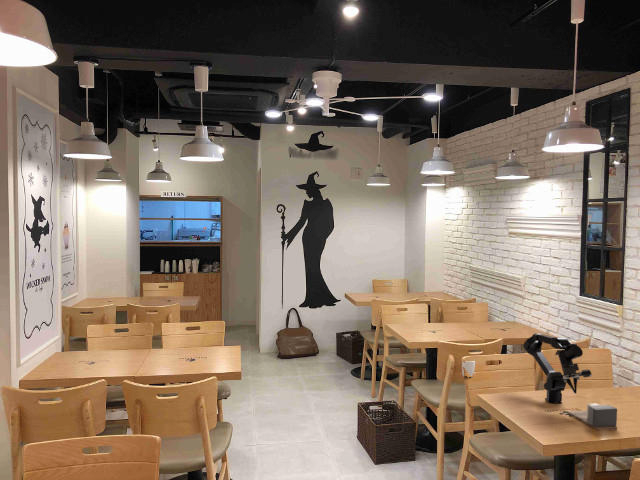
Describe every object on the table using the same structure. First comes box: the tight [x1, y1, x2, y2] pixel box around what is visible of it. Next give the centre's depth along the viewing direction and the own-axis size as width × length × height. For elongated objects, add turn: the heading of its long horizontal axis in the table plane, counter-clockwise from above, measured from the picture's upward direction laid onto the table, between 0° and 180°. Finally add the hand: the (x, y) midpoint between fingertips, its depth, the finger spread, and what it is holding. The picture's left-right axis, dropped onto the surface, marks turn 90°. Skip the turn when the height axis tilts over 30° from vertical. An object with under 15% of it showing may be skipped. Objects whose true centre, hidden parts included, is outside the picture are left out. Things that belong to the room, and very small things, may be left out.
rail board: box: [566, 410, 618, 431], centre depth 241 cm, size 20×10×1 cm, turn 12°
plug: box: [586, 402, 600, 419], centre depth 238 cm, size 6×5×7 cm
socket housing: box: [588, 404, 618, 427], centre depth 235 cm, size 5×11×8 cm, turn 102°
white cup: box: [461, 360, 476, 377], centre depth 310 cm, size 8×8×10 cm
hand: (575, 393), depth 252 cm, fingers closed
